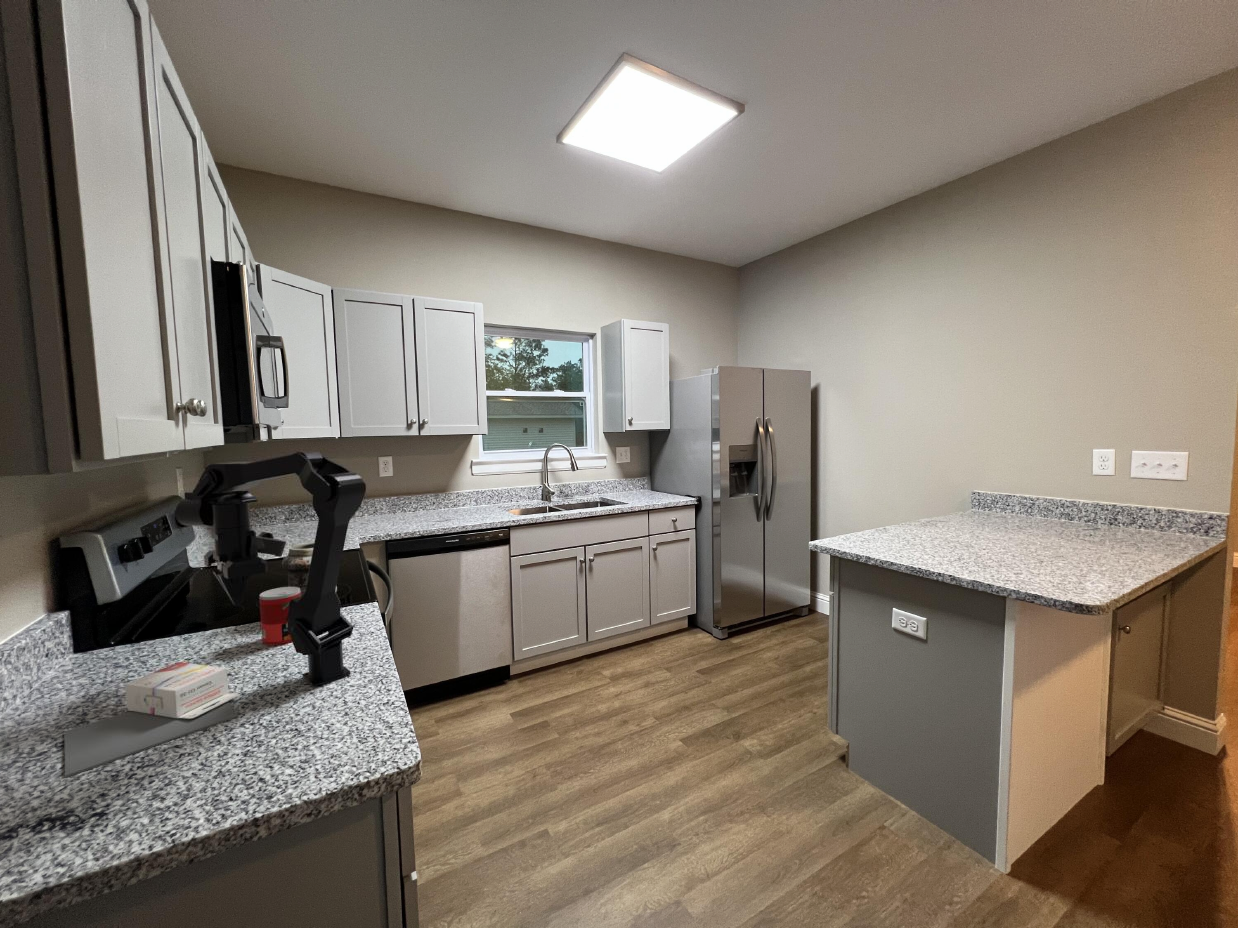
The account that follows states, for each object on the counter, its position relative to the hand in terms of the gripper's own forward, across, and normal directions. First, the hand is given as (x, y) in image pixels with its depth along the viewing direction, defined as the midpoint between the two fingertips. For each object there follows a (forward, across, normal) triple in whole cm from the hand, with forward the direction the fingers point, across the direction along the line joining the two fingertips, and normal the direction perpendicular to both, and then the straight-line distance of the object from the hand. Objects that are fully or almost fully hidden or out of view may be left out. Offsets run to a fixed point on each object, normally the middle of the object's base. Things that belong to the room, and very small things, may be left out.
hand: (237, 604), depth 99 cm
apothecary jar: (+13, +24, -21) cm, 34 cm away
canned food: (+13, +10, -10) cm, 20 cm away
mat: (+13, -12, +15) cm, 23 cm away
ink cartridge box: (+10, -2, +13) cm, 17 cm away
